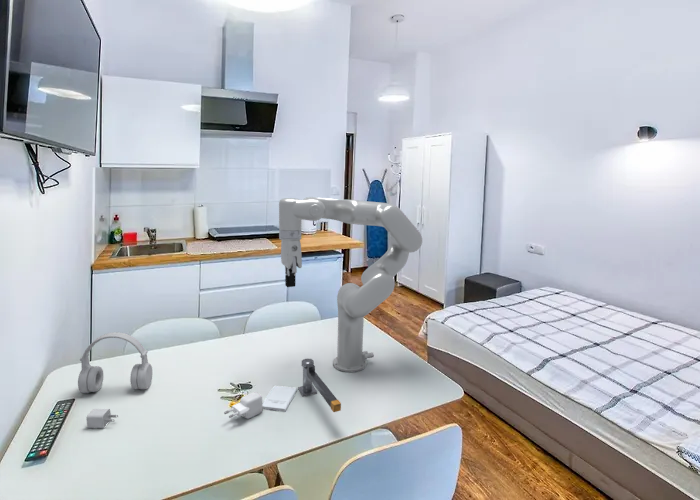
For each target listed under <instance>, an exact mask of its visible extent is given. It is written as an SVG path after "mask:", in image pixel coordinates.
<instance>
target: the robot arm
mask: <svg viewBox="0 0 700 500" xmlns="http://www.w3.org/2000/svg"><path fill="white" fill-rule="evenodd" d="M278 219H279V220H278V231H279V233H278V237H279V238H278V239H279V240H280V241H281V242H280V243H281V244H280V260H281V261H280V262H281V264H282V265H283V266H284V272H285V273H284V274H285V275H284V276H285V279H284V282H285V283H284V284H285V287H287V288H292V287H293V288H294V287H296V275H297V274H296V273H298V272H297V271H298V270H297V268H298V269H302V267H303V266H302V265H303V262H302V261H303V259H302V257H303V256H302V245H301V240H302V220H303V221H310V222H315V221H317V222H318V221H320V220H321V219H325V220H327V219H328V220H333V221H339V222H341V223H345V224H349V225H360V226H373V227H375V226H376V227H382V228H384V230H386V231H387V232H388V234H389V245H388V249H387V251H385V253H384V254H383V255H381V256H380V258H379V259H377V260H376V261H375V262H374V263H372V264H371V265H369V267H367V268H366V269H365V270H364V271H363V272H362V274H361V279H360V280H361V283H362V285H361V286H359V285H358V284H356V283H353V282H348V283H344V284H342V286H340V287H339V290H338V291H337V295H336V303H337V304H336V305H337V343H336V344H337V347H336V348H337V349H336V350H337V351H336V353H337V354H336V355H337V356H336V357H335V358H333V360H332V366H333V368H335V369H336V370H338V371H340V372H345V373H357V372H360V371H362V370H364V369H365V368H366V366H367V361H366V360H367V359H372V358H374V356H375V354H374V352H368V350H365V351H363V347H364V346H363V344H364V322H365V320H364V318H365V316H367V315H369V314H370V313H371V312H372V311H373V310H375V309H376V308H377V307H378V306H379V305H381V304H382V303H383V302H384V301H386V300H387V299H389V297H390V296H391V294H392V293H393V292H394V290H395V286H396V285H395V279H394V277H395V276H396V275H397V274H399V272H400V271H402V270H403V268H404V267H405V266H406V264H407V262H408V260H409V257H410V253H415V252H417V251H418V250H419V249H420V248H421V247H422V245H423V237H422V234H421V232H420V231H419V230H418V228H417V227H416V226H415V224H414V223H413V222H412V221H411V220H410V219H409V218H408V216H407V215H406V214H405V213H404V212H403V211H402V209H401V208H400V207H398V206H397V205H395V204H392V203H387V202H382V201H381V202H380V201H379V202H378V201H377V202H376V201H366V200H356V199H337V198H327V197H318V196H317V197H315V196H308V197H305V198H303V199H299V198H292V197H290V198H281V199H280V200H279V201H278Z"/></svg>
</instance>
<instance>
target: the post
mask: <svg viewBox="0 0 700 500" xmlns="http://www.w3.org/2000/svg"><path fill="white" fill-rule="evenodd" d="M297 391H298V392H299V394H300V395H301V396H302V397H303V398H304V397H308V396H312V395H313V396H314V395H317V394H318V390H317V389H316V387H315V386H314V384H313V383H312V382H311V380H310V379H309V378H308V376H307V368H305V367H303V366H302V386H298V387H297Z"/></svg>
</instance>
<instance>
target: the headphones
mask: <svg viewBox="0 0 700 500" xmlns="http://www.w3.org/2000/svg"><path fill="white" fill-rule="evenodd" d="M105 339H120V340H124V341H126V342H128V343H130V344H131V345H132V346H133V347H135V348H136V349H137V351H138V352H139V355H140V356H139V357H140V358H141V363H136V364H135V365H133V367H132V368H131V372H130V377H129V378H130V379H129V382H130V386H131V388H132V389H133V390H139V389H140V390H147V389H148V388H150V386H151V385H152V384H151V383H152V381H153V367H152V365H151V363H150V362H149V359H148V351H149V350H148V349H145V347H144V346H143V345H142V343H141V342H140V341H139V340H138V339H137V338H135V337H133V336H132V335H130V334H127V333H124V332H119V331H118V332H115V331H114V332H108V333H104V334H103V335H100V336H98V337H97V338H96V339H94V340H93V341H92V343H90V344H89V345H88V346H87V348H86V349H85V350H84V352H83V355H82V356H81V357H80V359H79V361H80V362H81V370H80V372H79V375H78V379H77V387H78V390H79V391H80V393H82V394H89V392H90V393H97V392H99V390H100V389H101V387H102V386H103V382H104V369H103V368H102V367H101V366H100V365H94V366H93V365H91V364H90V361H89V356H90V354H89V353H90V351H91V350H92V348H93V347H94V346H95V345H96V344H97V343H99V342H100V341H103V340H105Z"/></svg>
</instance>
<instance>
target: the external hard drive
mask: <svg viewBox="0 0 700 500" xmlns="http://www.w3.org/2000/svg"><path fill="white" fill-rule="evenodd" d="M297 392H298V387H293V386H285V385H283V386H282V385H276V384H275V385H273V387H272V388H271V389H270V390H269V392H268V394H267V395H266V397H265V399H264V400H262V404H263V409H262V410H269V411H275V412H283V413H285V412H287V411H288V408H289V406H290V405H291V403H292V401H293V399H294V397H295V395H296V394H297Z"/></svg>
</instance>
